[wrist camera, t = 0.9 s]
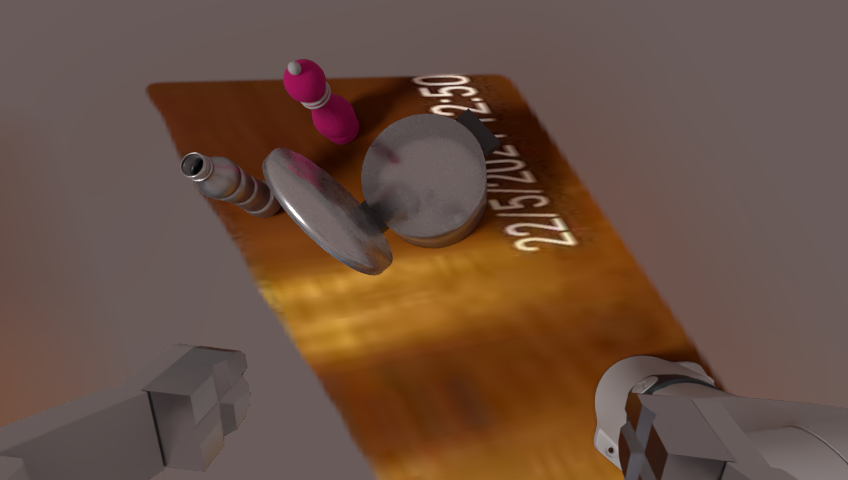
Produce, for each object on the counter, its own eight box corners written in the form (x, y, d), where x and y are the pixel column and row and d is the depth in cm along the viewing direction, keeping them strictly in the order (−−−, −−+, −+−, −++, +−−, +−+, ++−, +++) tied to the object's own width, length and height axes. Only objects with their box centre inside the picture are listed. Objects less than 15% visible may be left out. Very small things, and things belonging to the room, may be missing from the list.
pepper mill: (356, 104, 76) (309, 32, 57) (366, 139, 75) (322, 77, 55) (320, 118, 77) (262, 51, 57) (329, 153, 75) (272, 96, 56)
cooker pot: (521, 191, 68) (526, 166, 57) (420, 274, 69) (405, 266, 57) (452, 117, 73) (444, 79, 61) (357, 196, 73) (332, 173, 61)
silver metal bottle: (255, 185, 77) (173, 142, 57) (289, 186, 75) (218, 142, 56) (250, 219, 76) (165, 187, 56) (284, 221, 74) (210, 188, 55)
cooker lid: (344, 266, 39) (325, 285, 39) (410, 266, 57) (396, 279, 57) (240, 127, 43) (224, 145, 44) (332, 168, 61) (320, 181, 62)
